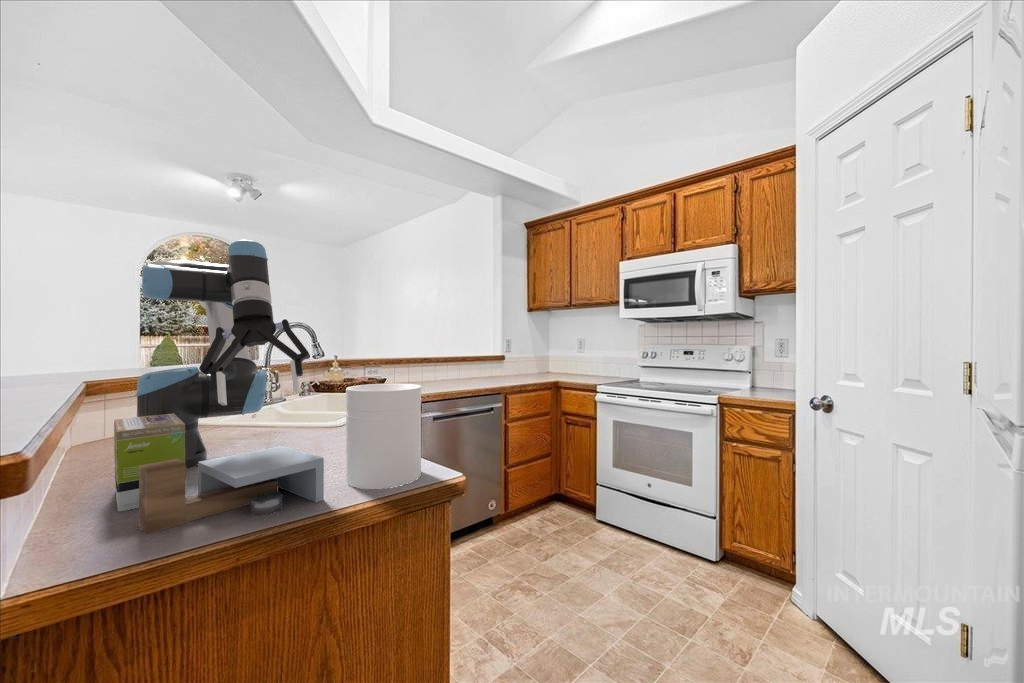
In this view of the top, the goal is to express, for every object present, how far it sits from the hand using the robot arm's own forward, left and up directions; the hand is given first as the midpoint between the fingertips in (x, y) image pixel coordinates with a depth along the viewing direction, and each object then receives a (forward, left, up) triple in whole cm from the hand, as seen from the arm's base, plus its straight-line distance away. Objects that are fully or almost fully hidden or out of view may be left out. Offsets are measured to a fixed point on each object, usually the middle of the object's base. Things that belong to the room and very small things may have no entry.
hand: (260, 397), depth 88 cm
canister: (+16, +19, -19) cm, 31 cm away
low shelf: (+10, -4, -18) cm, 21 cm away
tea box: (-12, -15, -19) cm, 27 cm away
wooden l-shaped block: (+7, -11, -18) cm, 22 cm away
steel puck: (+14, -5, -19) cm, 24 cm away
